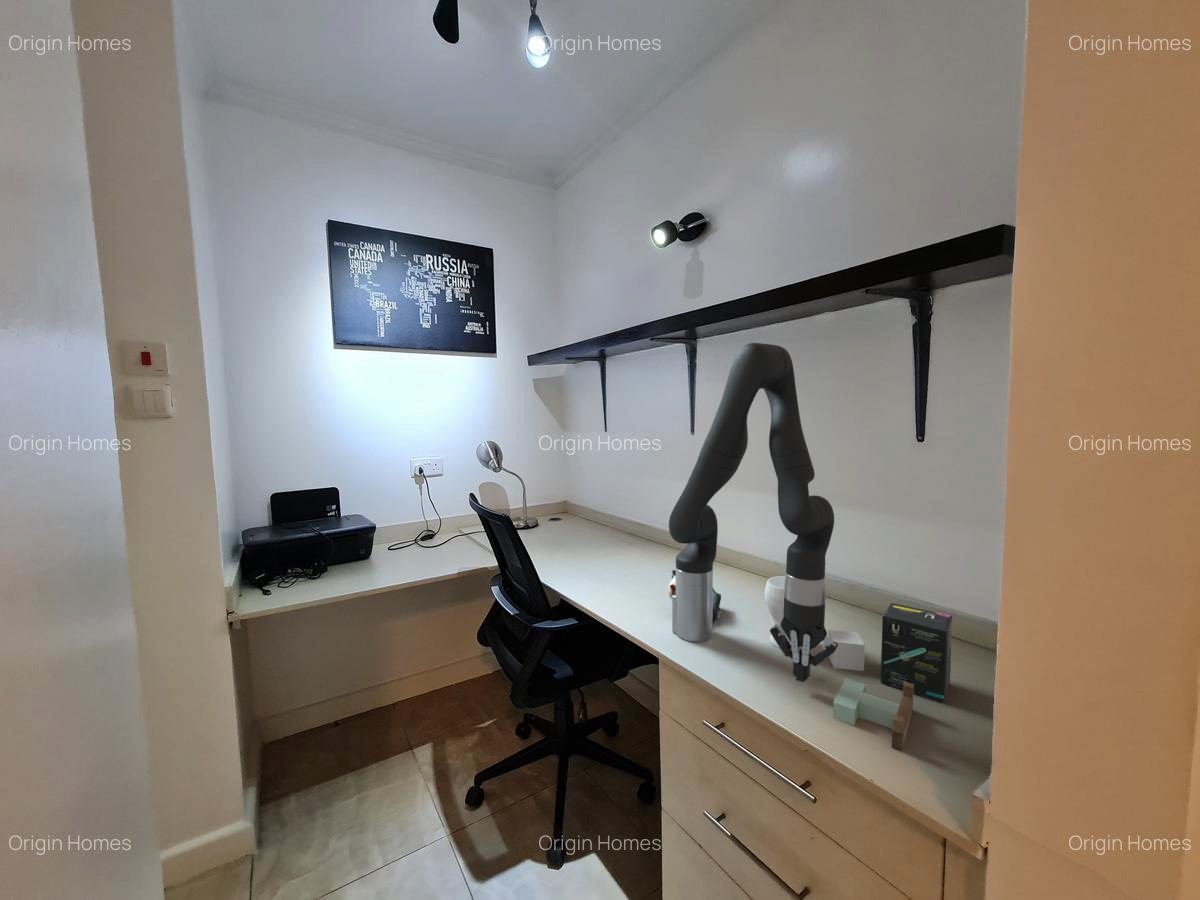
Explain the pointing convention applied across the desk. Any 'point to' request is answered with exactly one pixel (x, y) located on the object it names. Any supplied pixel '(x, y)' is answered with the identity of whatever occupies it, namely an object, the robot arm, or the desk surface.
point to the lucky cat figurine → (715, 597)
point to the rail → (902, 717)
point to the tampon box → (916, 650)
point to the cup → (775, 601)
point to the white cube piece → (847, 650)
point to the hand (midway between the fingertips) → (801, 679)
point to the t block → (862, 705)
